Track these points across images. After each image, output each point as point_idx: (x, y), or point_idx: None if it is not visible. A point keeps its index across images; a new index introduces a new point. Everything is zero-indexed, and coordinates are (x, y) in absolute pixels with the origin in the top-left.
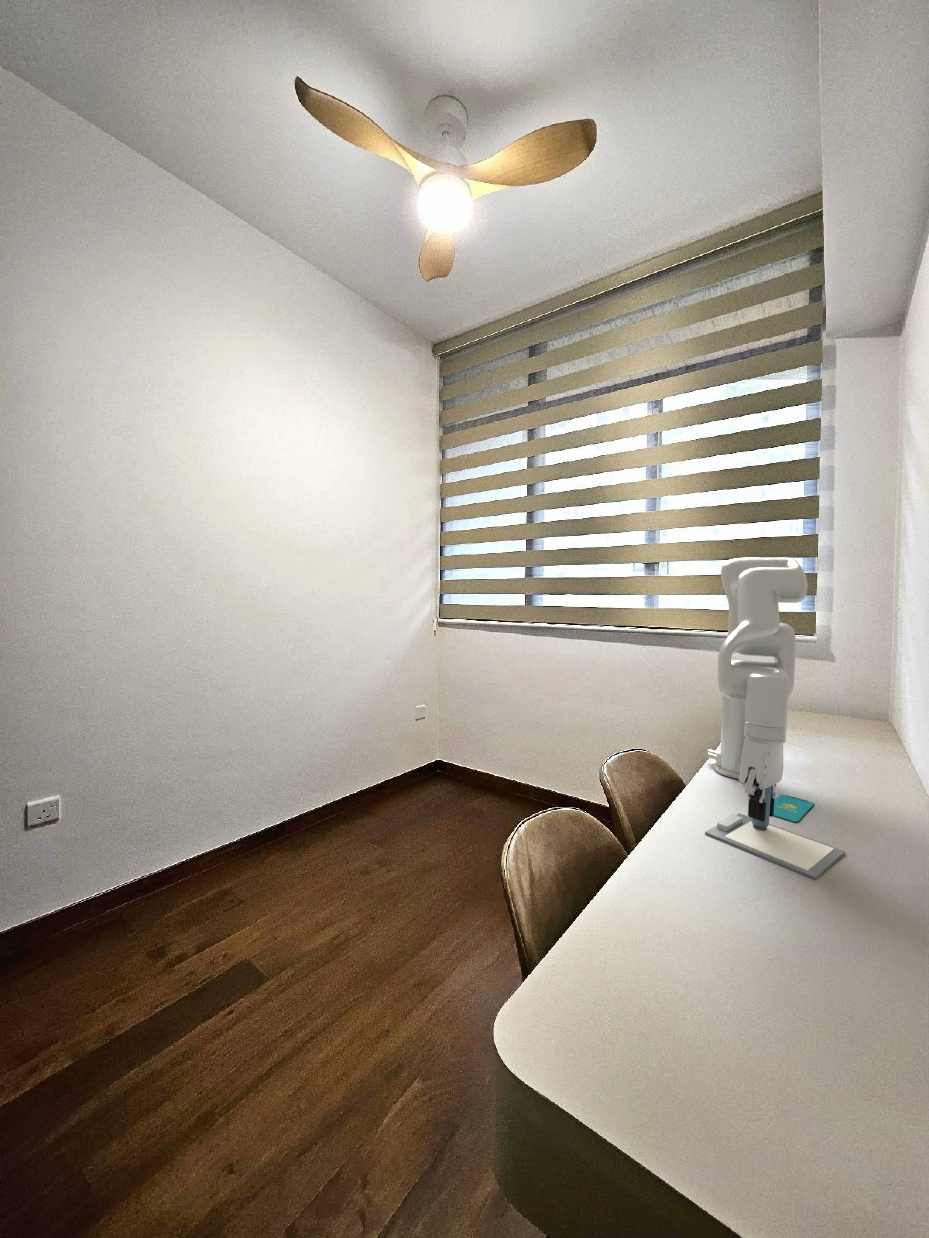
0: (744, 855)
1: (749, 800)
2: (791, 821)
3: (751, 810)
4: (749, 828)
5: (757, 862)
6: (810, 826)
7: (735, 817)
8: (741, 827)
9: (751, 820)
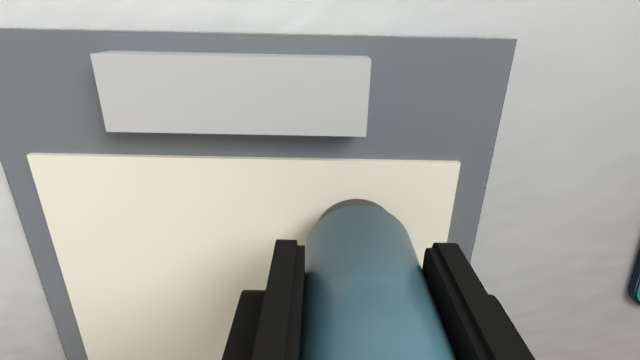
0: (2, 282)
1: (255, 351)
2: (632, 282)
3: (239, 313)
4: (287, 203)
5: (8, 335)
6: (629, 347)
7: (322, 100)
8: (255, 167)
9: (334, 214)
